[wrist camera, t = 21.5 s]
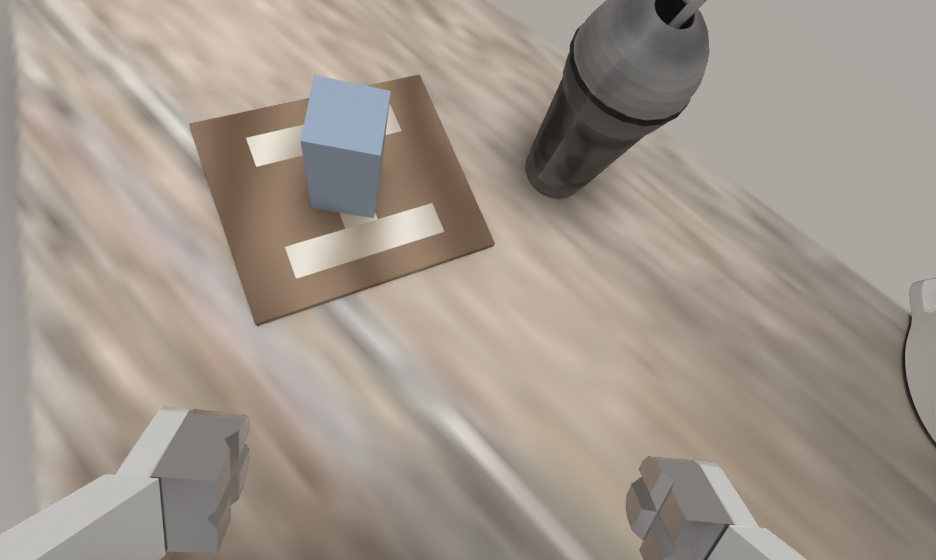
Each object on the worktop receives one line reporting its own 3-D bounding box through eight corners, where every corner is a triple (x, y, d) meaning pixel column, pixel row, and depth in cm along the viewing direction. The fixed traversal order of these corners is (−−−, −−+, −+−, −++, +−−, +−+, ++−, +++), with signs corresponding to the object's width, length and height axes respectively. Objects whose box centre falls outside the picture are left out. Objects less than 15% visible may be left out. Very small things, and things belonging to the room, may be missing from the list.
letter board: (418, 79, 39) (419, 74, 38) (492, 246, 36) (494, 243, 35) (191, 128, 34) (188, 123, 33) (257, 325, 31) (255, 323, 31)
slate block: (322, 154, 35) (314, 75, 27) (382, 164, 35) (390, 90, 28) (311, 207, 33) (300, 140, 26) (373, 218, 34) (380, 155, 27)
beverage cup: (503, 125, 39) (643, -165, 20) (592, 131, 41) (798, -133, 22) (512, 214, 37) (678, -18, 18) (606, 216, 39) (845, 5, 20)
